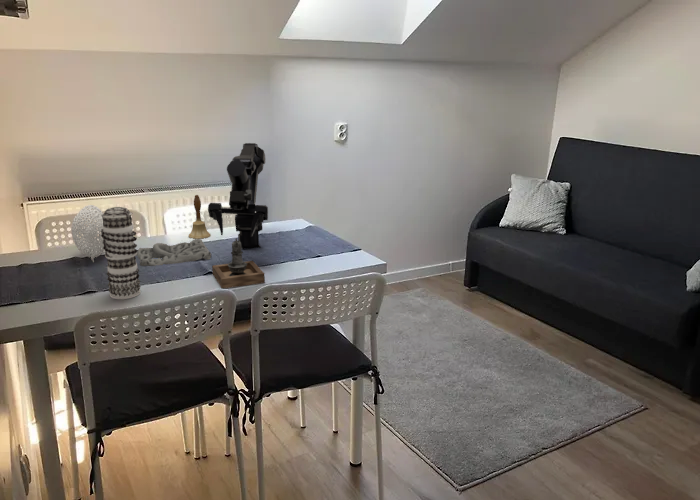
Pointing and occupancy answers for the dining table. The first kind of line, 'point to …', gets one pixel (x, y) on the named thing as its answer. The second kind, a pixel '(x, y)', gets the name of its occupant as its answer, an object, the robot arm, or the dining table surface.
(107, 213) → the decorative candle
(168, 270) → the dining table surface
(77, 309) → the dining table surface
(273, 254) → the dining table surface
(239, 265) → the stone chess piece
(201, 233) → the hand bell
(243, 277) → the walnut tray
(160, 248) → the wall plaque
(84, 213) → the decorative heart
